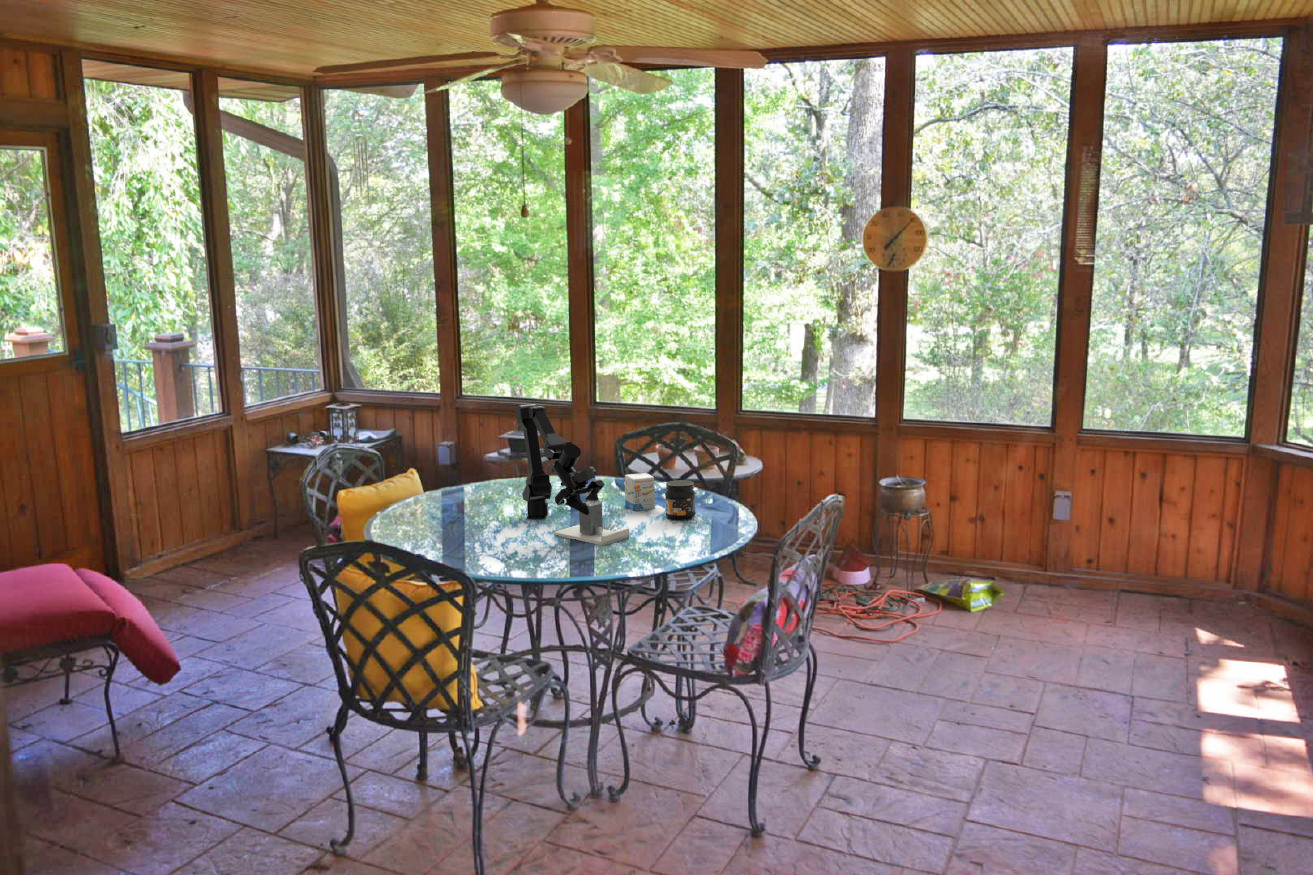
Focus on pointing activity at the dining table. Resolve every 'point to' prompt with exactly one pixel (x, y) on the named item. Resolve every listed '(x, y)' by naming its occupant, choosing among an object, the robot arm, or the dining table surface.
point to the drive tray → (594, 535)
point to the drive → (591, 517)
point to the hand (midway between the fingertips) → (593, 512)
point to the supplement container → (680, 499)
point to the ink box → (639, 491)
